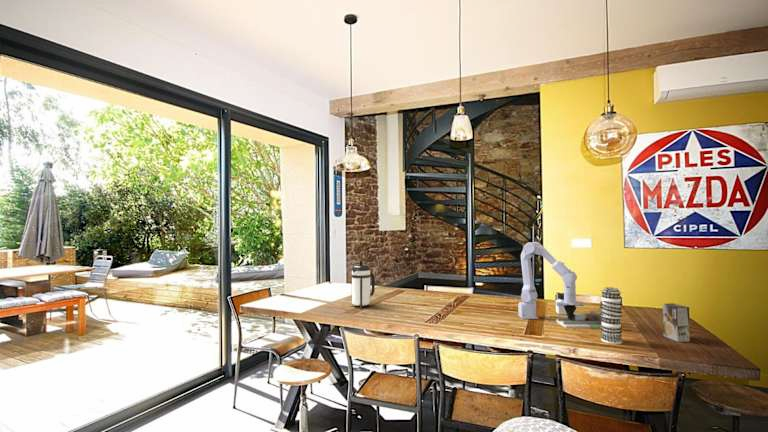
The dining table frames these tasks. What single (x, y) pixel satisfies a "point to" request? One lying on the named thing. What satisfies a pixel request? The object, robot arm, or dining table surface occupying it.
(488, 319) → the dining table surface
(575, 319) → the plunger
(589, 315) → the marker
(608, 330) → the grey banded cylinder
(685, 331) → the coffee box
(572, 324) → the scale board
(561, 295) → the medicine bottle
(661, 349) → the dining table surface
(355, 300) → the coffee press
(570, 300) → the robot arm
